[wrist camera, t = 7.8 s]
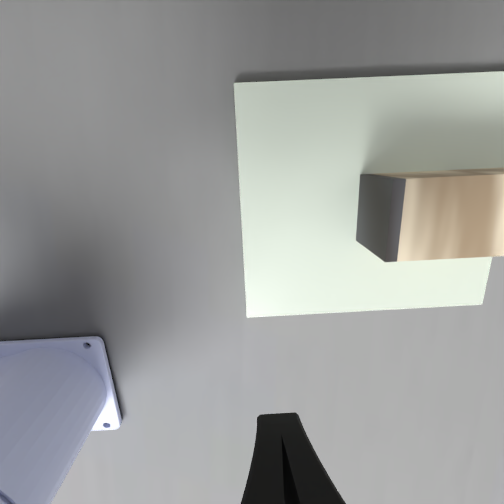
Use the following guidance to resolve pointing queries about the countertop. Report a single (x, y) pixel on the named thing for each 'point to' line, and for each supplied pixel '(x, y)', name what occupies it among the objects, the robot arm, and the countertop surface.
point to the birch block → (432, 214)
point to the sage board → (353, 185)
